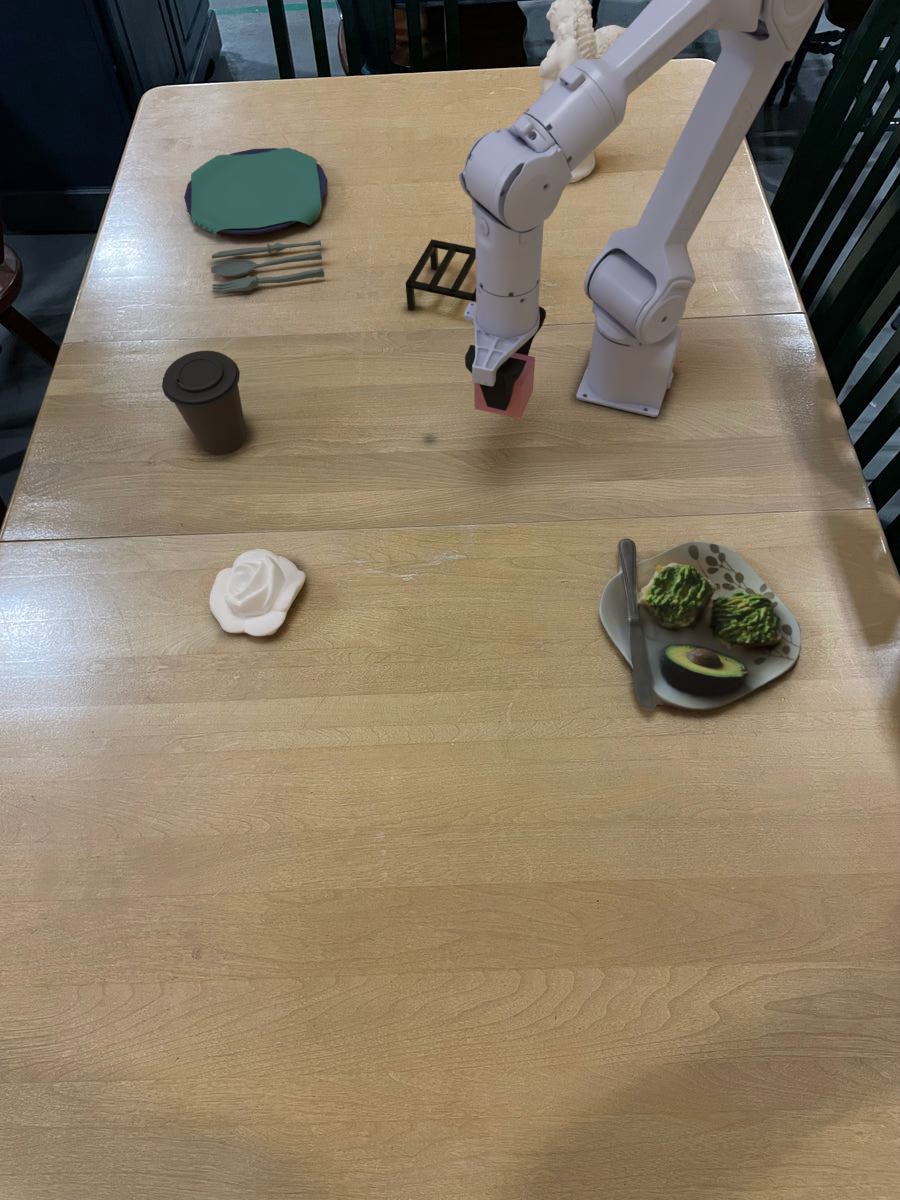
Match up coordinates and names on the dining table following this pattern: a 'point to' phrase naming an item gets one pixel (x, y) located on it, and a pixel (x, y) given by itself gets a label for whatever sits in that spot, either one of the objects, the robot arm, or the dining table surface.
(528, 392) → the pink box
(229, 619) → the rose
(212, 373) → the coffee cup
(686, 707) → the avocado toast plate
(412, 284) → the rack
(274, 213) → the cutlery set
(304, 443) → the dining table surface
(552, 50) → the cherub figurine
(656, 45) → the robot arm
